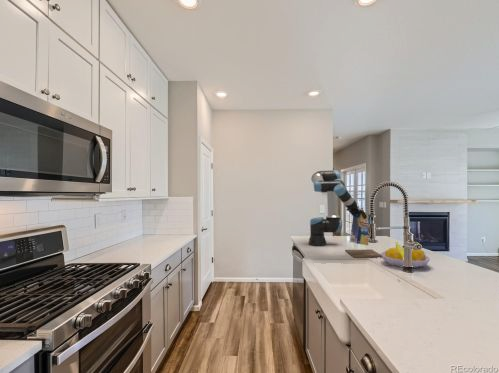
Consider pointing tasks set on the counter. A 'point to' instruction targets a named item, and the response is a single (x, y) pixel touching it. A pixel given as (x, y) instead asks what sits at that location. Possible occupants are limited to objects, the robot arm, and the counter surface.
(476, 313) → the counter surface
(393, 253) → the fruit bowl
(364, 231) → the blue cardboard box
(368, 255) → the walnut board
